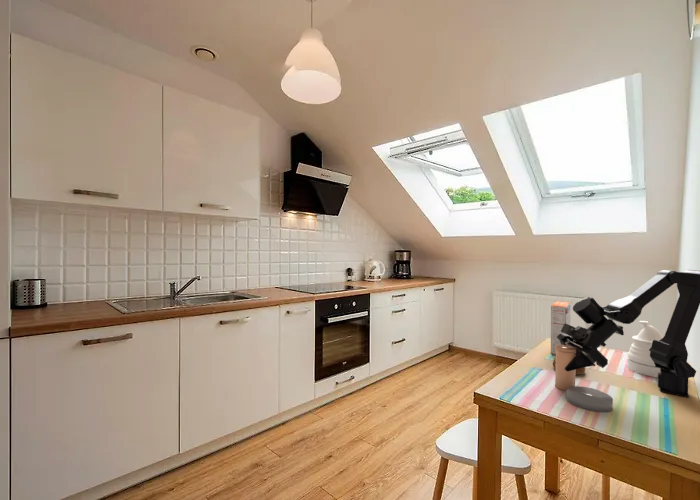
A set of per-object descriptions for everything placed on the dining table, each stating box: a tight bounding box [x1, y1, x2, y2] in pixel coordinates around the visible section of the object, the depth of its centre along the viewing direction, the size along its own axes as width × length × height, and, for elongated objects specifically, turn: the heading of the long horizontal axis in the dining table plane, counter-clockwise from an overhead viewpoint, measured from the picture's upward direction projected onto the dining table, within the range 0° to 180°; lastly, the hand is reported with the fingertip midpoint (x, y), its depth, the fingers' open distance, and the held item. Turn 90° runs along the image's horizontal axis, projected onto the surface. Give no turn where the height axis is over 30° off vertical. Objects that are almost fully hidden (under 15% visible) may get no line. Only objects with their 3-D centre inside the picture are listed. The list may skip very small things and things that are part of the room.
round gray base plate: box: [566, 385, 614, 413], centre depth 99 cm, size 11×11×2 cm
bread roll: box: [552, 357, 586, 376], centre depth 125 cm, size 10×10×8 cm
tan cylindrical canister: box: [554, 345, 577, 392], centre depth 110 cm, size 6×6×13 cm
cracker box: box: [550, 300, 571, 355], centre depth 147 cm, size 14×6×21 cm, turn 141°
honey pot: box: [626, 320, 664, 378], centre depth 125 cm, size 13×13×18 cm
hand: (560, 366), depth 110 cm, fingers closed on tan cylindrical canister, 5 cm apart
